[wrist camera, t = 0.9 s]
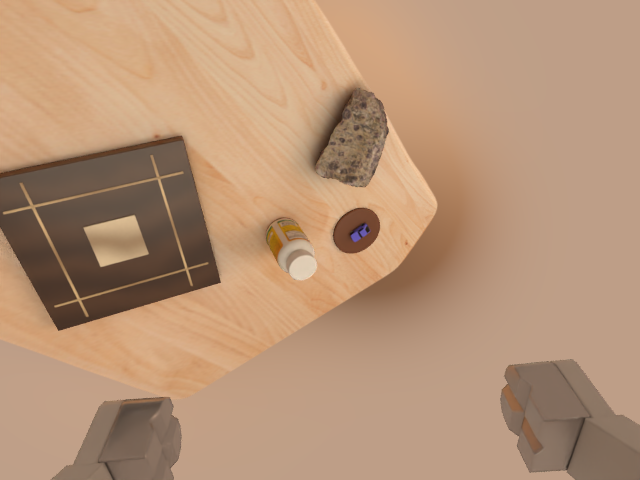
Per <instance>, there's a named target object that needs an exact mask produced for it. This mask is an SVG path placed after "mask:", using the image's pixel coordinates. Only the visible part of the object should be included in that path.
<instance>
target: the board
mask: <svg viewBox="0 0 640 480" xmlns="http://www.w3.org/2000/svg"><path fill="white" fill-rule="evenodd" d="M0 228H1V229H2V231H3V233H4V235H5V236H6V238H7V240H8V242H9V244H10V245H11V247H12V249H13V251H14V252H15V254H16V256H17V258H18V260H19V261H20V263H21V265H22V267H23V268H24V270H25V272H26V274H27V276H28V277H29V279H30V281H31V283H32V284H33V286H34V288H35V290H36V292H37V293H38V295H39V297H40V299H41V300H42V302H43V304H44V306H45V308H46V309H47V311H48V313H49V315H50V316H51V318H52V320H53V322H54V324H55V325H56V327H57V329H58V331H60V330H63V329H67V328H70V327H73V326H77V325H80V324H83V323H87V322H90V321H93V320H97V319H100V318H103V317H107V316H110V315H114V314H117V313H120V312H124V311H127V310H130V309H134V308H137V307H140V306H144V305H147V304H150V303H154V302H157V301H161V300H164V299H167V298H171V297H174V296H177V295H181V294H184V293H187V292H191V291H194V290H198V289H201V288H204V287H208V286H211V285H214V284H218V283H221V282H220V278H219V274H218V270H217V266H216V262H215V259H214V255H213V251H212V247H211V243H210V240H209V236H208V232H207V228H206V224H205V221H204V217H203V213H202V209H201V205H200V201H199V198H198V194H197V190H196V186H195V182H194V179H193V175H192V171H191V167H190V163H189V160H188V156H187V152H186V148H185V144H184V140H183V138H182V136H179V137H174V138H169V139H164V140H160V141H155V142H150V143H145V144H140V145H135V146H130V147H126V148H121V149H116V150H111V151H106V152H101V153H97V154H92V155H87V156H82V157H77V158H72V159H67V160H63V161H58V162H53V163H48V164H43V165H38V166H33V167H29V168H24V169H19V170H14V171H9V172H4V173H0Z"/></svg>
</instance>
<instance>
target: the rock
mask: <svg viewBox="0 0 640 480" xmlns="http://www.w3.org/2000/svg"><path fill="white" fill-rule="evenodd" d="M388 132H389V131H388V127H387V119H386V114H385V112H384V106H383V104H382V102H381V101H380V100H378V99H377V98H375V95H374V93H372V92H367V91H365V90H362V89H360V88H356V89H355V90H354V92H353V95H352V96H351V98H350V100H349V103H347V104H346V105H345V108H344V111H343V112H342V120H341V122H340V123H339V124H338V125H337V126H336V127H335V129H334V132H333V133H332V134H331V136H330V138H331V139H330V141H329V145H328V146H327V147H326V148H325V149H324V150H323V151H321V152H320V153H321V154H320V158H319V161H318V162H317V163H316V166H315V169H316V173H317V174H318V175H320V176H321V177H323V178H328V179H329V178H332V179H337V180H339V181H340V182H343V183H344V184H348V185H351V186H355V187H366V186H367V185H368V184H369V182H370V180H371V178H372V177H373V175H374V173H375V170H376V168H377V166H378V162H379V159H380V157H381V154H382V151H383V148H384V144H385V140H386V136H387V134H388Z"/></svg>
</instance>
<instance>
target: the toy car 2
mask: <svg viewBox="0 0 640 480" xmlns="http://www.w3.org/2000/svg"><path fill="white" fill-rule="evenodd" d="M379 230H380V222H379V219H378V217H377V215H376V214H375V213H374V212H373V211H371V210H369V209H366V208H358V209H354V210H352V211H350V212H348V213H347V214H345V215H344V216H343V217H342V218H341V219H340V220H339V221H338V223H337V225H336V227H335V229H334V235H333V236H334V242H335V244H336V246H337V247H338V248H339V249H340V250H341V251H343V252H345V253H357V252H360V251H363V250H364V249H366V248H367V247H369V246H370V245H371V244H372V243H373V242H374V241H375V239H376V238H377V236H378V233H379Z"/></svg>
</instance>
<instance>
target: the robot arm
mask: <svg viewBox="0 0 640 480" xmlns="http://www.w3.org/2000/svg"><path fill="white" fill-rule="evenodd" d="M505 379H506V381H507V383H508V384H507V385H506V386H505V387H504V388H503V389H502V393H501V408H502V413H503V416H504V419H505V422H506V424H507V426H508V428H509V430H511V431H512V432H514V433H515V434H516V435H518V436H519V440H518V444H517V447H518V449H519V451H520V453H521V455H522V458H523V460H524V462H525V464H526V466H527V468H528V470H529V472H545V471H560V470H567V473H568V474H570V475H571V476H572V477H573V478H574V479H575V480H640V425H639V424H637V423H635V422H633V421H632V420H630V419H629V418H627V417H625V416H623V415H615V414H614V412H613V411H612V409H611V408H610V407H609V405H608V404H607V403H606V401H605V400H604V399H603V397H602V396H601V394H600V393H599V392H598V390H597V389H596V388H595V386H594V385H593V384H592V383H591V381H590V380H589V378H588V377H587V376H586V375H585V373H584V372H583V370H582V369H581V368H580V366H579V365H578V364H577V362H575V361H574V360H572V359H570V360H560V361H550V362H549V361H547V362H536V363H527V364H517V365H509V366H508V367H507V368H506V371H505ZM172 410H173V404H172V402H171V399H170V397H159V398H143V399H128V400H117V401H105V402H104V403H103V404H102V405H101V406H100V407H99V408H98V411H97V413H96V415H95V417H94V419H93V422H92V424H91V426H90V428H89V430H88V433H87V435H86V437H85V439H84V441H83V444H82V446H81V448H80V450H79V453H78V455H77V457H76V459H75V461H74V464H73V465H69V466H66V467H65V468H64V469H62V470H61V471H60V472H59V473H58V474H57V475H56V476H55V477H53V478H52V480H174V477H173V474H172V472H171V469H170V468H171V467H172V466H173V465H174V464H175V463H176V462H177V460H178V458H179V454H180V449H181V429H180V424H179V421H178V419H177V418H175V417H174V416H172V415H171V414H172Z"/></svg>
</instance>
